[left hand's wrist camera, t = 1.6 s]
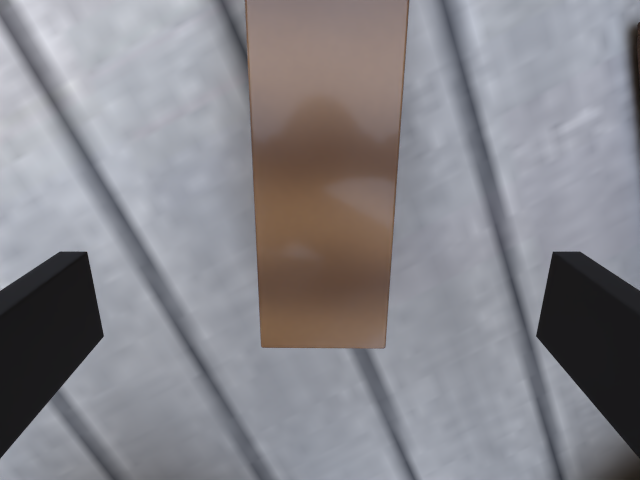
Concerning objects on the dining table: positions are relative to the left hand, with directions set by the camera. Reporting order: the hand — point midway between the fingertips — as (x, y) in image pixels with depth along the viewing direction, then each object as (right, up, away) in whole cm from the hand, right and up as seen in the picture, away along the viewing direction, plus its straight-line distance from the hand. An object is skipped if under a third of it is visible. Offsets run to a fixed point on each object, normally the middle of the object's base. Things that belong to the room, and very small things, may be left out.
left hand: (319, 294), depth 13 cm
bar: (0, +35, +2) cm, 35 cm away
